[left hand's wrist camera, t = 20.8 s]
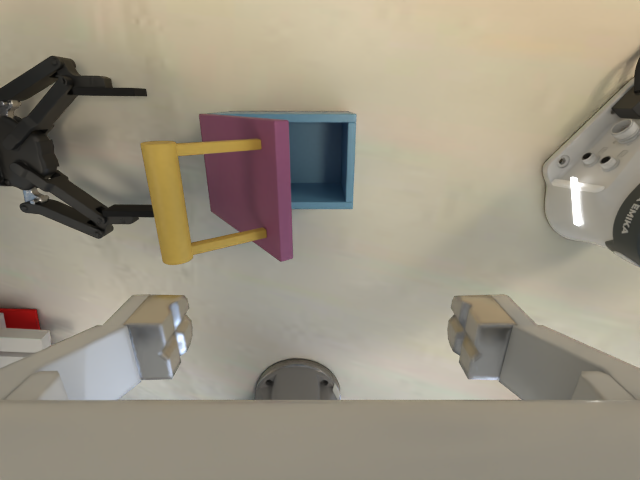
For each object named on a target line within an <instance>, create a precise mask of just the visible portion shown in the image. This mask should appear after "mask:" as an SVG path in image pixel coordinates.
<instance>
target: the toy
mask: <svg viewBox="0 0 640 480" xmlns="http://www.w3.org/2000/svg"><path fill="white" fill-rule="evenodd" d="M51 344H52V343H51V336H50V330H40V325H39V319H38V314H37V309H4V308H0V368H2V367H4V366H7V365H9V364H11V363H13V362H16V361H18V360H20V359H22V358H25V357H27V356H29V355H31V354H34V353H36V352H38V351H40V350H43V349H45V348H47V347H49V346H50V345H51Z"/></svg>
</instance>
